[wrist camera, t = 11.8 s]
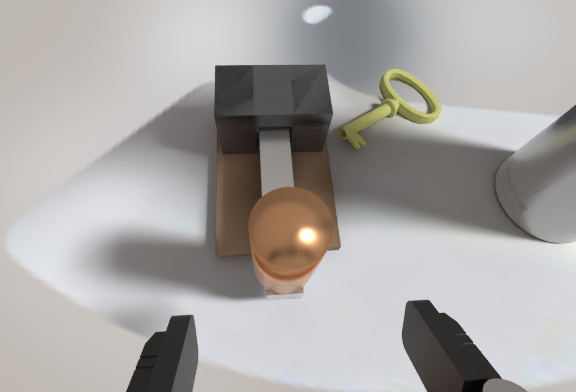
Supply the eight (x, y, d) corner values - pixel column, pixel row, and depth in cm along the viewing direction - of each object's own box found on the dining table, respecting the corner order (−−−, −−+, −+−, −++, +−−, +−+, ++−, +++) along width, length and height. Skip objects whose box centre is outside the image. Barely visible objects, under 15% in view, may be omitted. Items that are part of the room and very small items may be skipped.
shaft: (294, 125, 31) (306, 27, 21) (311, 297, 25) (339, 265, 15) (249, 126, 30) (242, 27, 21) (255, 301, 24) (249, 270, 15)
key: (331, 143, 33) (335, 131, 31) (389, 69, 38) (396, 54, 36) (395, 183, 32) (404, 172, 30) (447, 101, 37) (458, 87, 35)
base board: (319, 114, 34) (321, 107, 33) (338, 249, 28) (340, 246, 28) (219, 116, 33) (217, 109, 32) (217, 256, 28) (215, 253, 27)
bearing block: (316, 107, 33) (325, 64, 28) (322, 151, 31) (332, 113, 26) (223, 109, 32) (215, 65, 27) (222, 154, 30) (214, 116, 25)
